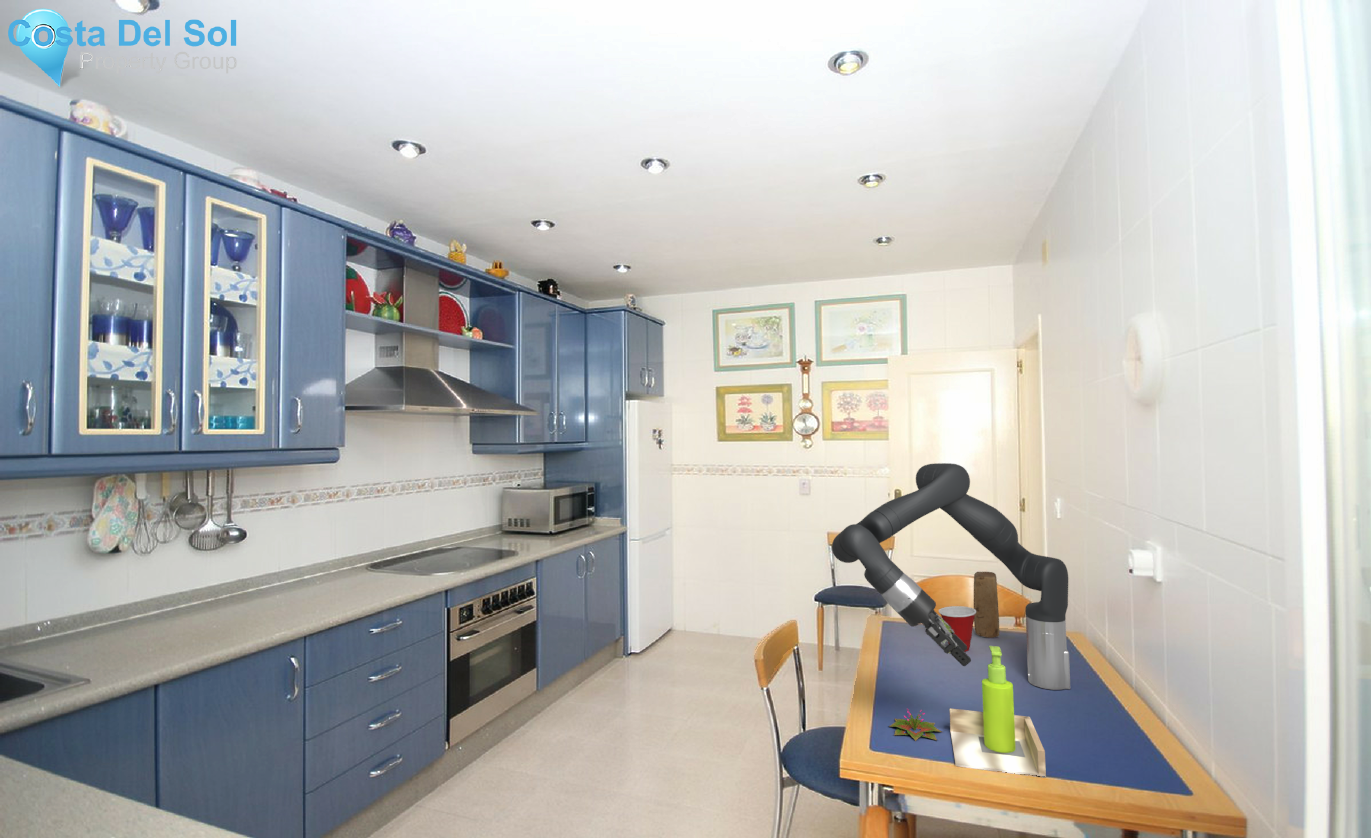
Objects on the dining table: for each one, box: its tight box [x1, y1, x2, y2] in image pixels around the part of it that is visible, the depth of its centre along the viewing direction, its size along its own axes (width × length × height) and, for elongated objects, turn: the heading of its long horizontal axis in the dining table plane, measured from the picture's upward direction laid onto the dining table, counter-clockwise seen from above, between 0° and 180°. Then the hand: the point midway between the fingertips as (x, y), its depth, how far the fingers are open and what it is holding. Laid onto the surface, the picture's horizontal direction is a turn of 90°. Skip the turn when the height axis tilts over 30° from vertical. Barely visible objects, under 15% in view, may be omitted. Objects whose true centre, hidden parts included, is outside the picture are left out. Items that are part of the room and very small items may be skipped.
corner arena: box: [949, 708, 1047, 778], centre depth 134 cm, size 16×16×5 cm
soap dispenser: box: [981, 645, 1016, 753], centre depth 137 cm, size 6×7×20 cm
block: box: [973, 571, 1000, 639], centre depth 213 cm, size 11×8×20 cm
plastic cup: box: [938, 605, 976, 652], centre depth 200 cm, size 11×11×12 cm
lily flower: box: [890, 709, 943, 742], centre depth 146 cm, size 12×12×5 cm
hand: (966, 656), depth 138 cm, fingers open, 8 cm apart
